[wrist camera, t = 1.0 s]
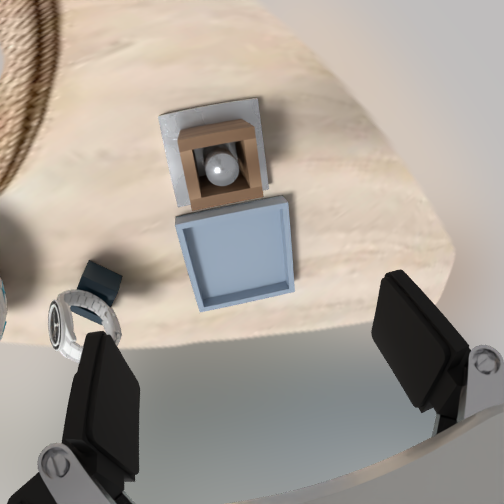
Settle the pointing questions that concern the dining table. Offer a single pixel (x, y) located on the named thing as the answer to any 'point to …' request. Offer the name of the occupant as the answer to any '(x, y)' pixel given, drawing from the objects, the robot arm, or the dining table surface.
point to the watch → (85, 309)
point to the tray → (238, 252)
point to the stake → (212, 157)
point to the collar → (248, 161)
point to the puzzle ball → (2, 308)
